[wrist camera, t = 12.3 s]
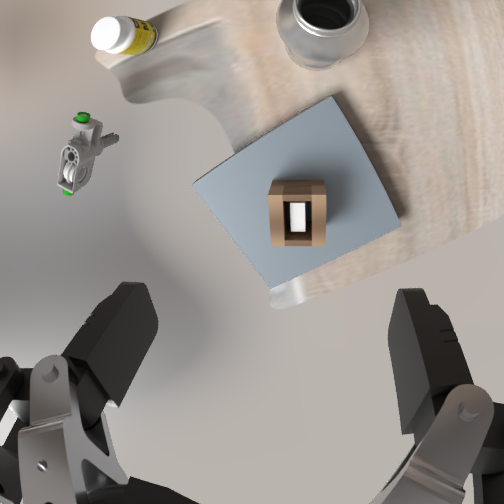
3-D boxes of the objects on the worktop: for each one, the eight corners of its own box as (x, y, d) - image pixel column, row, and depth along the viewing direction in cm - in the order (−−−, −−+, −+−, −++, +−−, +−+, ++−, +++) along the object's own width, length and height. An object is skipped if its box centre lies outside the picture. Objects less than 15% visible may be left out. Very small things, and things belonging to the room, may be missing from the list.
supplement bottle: (165, 29, 30) (131, 20, 23) (147, 60, 32) (111, 59, 25) (137, 16, 29) (100, 8, 22) (120, 47, 31) (81, 46, 24)
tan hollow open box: (272, 180, 36) (267, 195, 32) (323, 179, 35) (326, 194, 31) (275, 226, 39) (271, 246, 35) (323, 226, 38) (325, 246, 34)
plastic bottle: (274, 47, 30) (238, 9, 13) (313, 8, 26) (319, -63, 10) (317, 82, 31) (332, 82, 14) (356, 45, 28) (411, 9, 11)
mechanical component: (133, 107, 36) (88, 119, 27) (114, 173, 41) (72, 200, 33) (116, 100, 35) (69, 112, 27) (98, 165, 41) (55, 190, 32)
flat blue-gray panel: (330, 95, 32) (335, 97, 27) (397, 219, 38) (410, 241, 33) (196, 180, 40) (179, 197, 35) (272, 280, 46) (267, 307, 41)
